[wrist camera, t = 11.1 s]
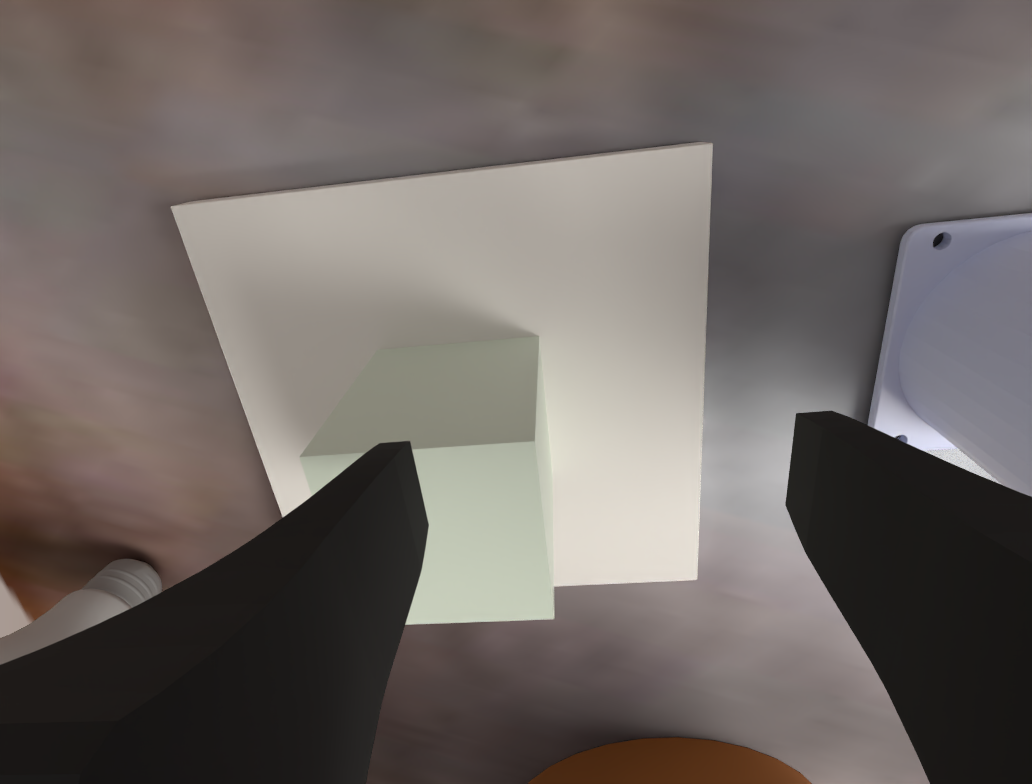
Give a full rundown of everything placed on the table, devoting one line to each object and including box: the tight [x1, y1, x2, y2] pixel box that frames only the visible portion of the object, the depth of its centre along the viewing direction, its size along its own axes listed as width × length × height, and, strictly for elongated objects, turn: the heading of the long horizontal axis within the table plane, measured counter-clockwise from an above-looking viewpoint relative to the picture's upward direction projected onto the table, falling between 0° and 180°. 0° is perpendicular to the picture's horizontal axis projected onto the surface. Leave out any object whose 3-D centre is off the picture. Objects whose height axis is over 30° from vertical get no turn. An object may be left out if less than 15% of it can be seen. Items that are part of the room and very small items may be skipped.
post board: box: [170, 142, 713, 586], centre depth 18 cm, size 16×16×6 cm
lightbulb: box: [0, 559, 162, 665], centre depth 20 cm, size 6×6×11 cm
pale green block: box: [299, 336, 554, 625], centre depth 17 cm, size 5×5×7 cm
